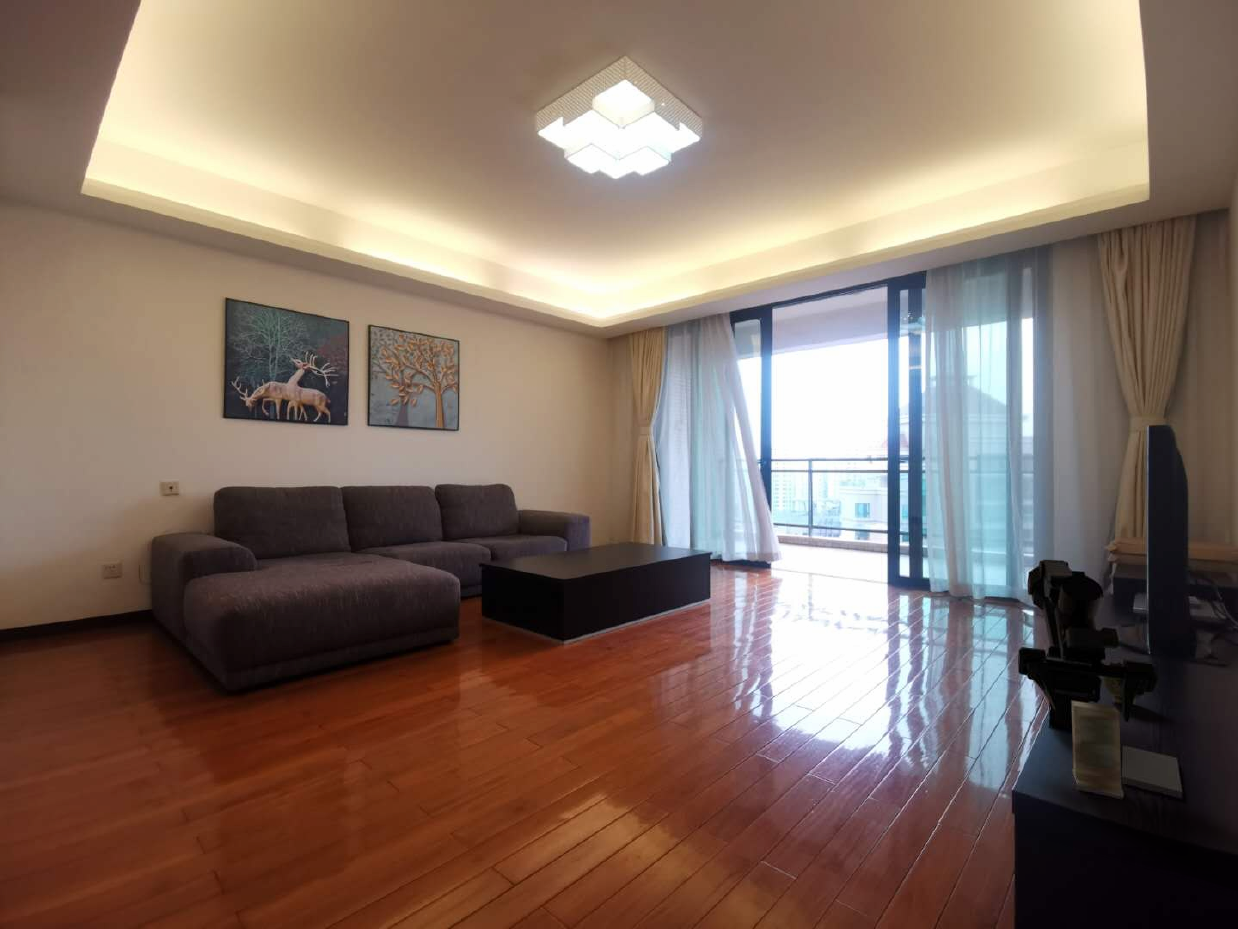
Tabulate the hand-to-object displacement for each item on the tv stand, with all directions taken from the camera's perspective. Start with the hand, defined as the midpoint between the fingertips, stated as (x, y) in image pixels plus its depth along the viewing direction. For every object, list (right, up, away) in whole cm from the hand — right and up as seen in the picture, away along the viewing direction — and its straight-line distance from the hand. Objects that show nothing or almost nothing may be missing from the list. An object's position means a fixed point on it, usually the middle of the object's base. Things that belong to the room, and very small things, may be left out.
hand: (1090, 715), depth 95 cm
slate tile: (+11, -10, +1) cm, 15 cm away
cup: (+32, -11, +30) cm, 45 cm away
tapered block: (-2, -10, -3) cm, 11 cm away
